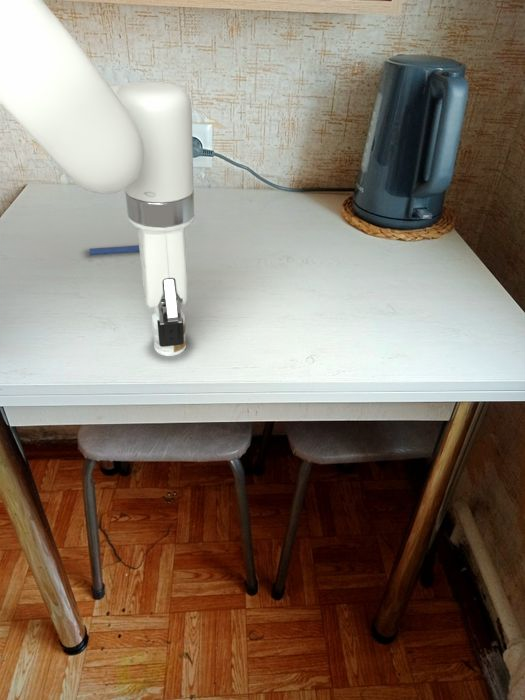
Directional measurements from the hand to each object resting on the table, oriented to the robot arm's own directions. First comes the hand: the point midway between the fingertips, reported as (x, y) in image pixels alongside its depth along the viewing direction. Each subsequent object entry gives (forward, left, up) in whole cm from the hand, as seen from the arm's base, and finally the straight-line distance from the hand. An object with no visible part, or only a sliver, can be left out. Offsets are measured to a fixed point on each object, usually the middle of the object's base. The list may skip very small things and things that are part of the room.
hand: (169, 331), depth 69 cm
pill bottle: (0, 0, -3) cm, 3 cm away
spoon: (-17, +23, -3) cm, 29 cm away
